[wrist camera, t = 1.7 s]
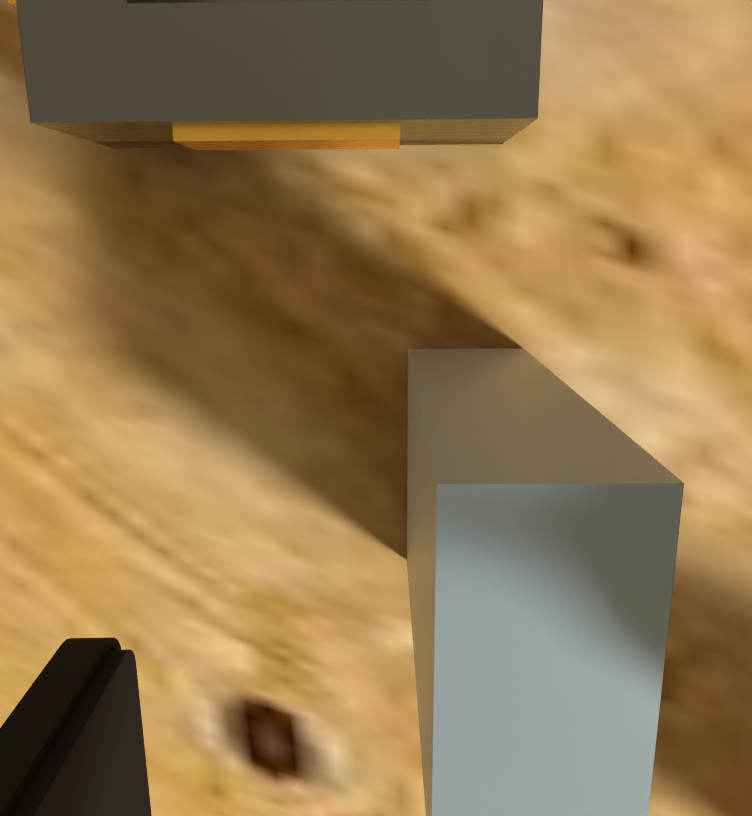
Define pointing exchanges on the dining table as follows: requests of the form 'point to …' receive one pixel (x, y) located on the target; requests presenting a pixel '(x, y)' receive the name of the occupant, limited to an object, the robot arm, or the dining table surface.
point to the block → (533, 590)
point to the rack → (282, 71)
